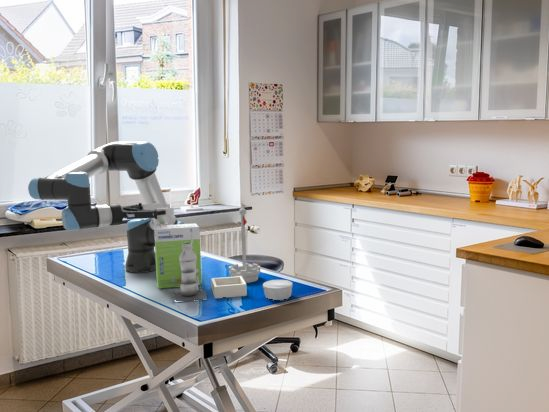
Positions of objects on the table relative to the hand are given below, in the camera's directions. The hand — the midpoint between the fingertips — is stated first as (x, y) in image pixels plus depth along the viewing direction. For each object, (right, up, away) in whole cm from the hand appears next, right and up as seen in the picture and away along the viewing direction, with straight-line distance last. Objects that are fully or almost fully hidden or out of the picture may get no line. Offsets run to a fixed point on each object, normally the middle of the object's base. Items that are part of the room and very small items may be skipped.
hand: (166, 208), depth 215 cm
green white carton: (+1, -31, +23) cm, 39 cm away
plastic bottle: (+8, -33, +5) cm, 34 cm away
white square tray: (+22, -32, +9) cm, 40 cm away
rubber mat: (+8, -33, +5) cm, 35 cm away
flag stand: (+28, -30, +28) cm, 49 cm away
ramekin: (+41, -33, +2) cm, 53 cm away
